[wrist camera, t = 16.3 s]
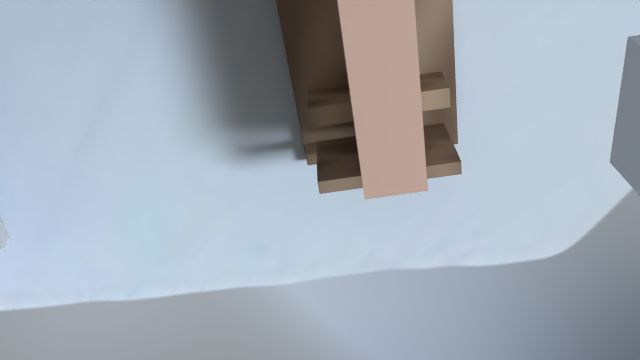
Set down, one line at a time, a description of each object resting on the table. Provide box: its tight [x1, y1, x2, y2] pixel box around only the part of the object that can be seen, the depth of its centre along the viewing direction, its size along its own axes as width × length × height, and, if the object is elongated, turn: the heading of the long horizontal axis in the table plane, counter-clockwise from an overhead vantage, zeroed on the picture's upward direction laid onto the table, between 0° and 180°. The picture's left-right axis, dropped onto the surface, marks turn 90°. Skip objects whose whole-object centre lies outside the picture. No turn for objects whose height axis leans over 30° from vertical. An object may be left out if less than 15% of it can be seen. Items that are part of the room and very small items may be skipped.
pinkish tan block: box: [336, 0, 428, 199], centre depth 37 cm, size 4×16×7 cm, turn 9°
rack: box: [276, 0, 462, 194], centre depth 40 cm, size 12×22×7 cm, turn 9°
